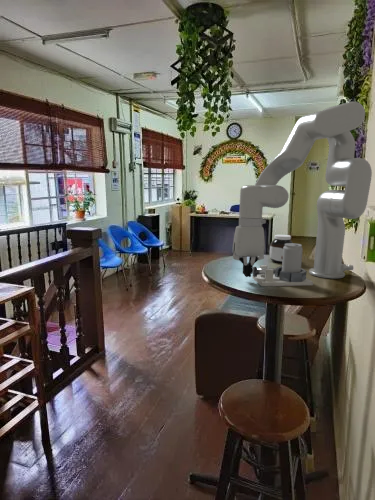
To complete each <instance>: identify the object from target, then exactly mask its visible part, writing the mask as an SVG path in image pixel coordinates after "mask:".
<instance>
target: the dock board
mask: <svg viewBox="0 0 375 500" xmlns="http://www.w3.org/2000/svg"><path fill="white" fill-rule="evenodd" d="M265 268H269V267H268V265H266V264H265V265H263V264H262V265H259V269H265ZM251 277H252V279H253V280H254V281H255V282H256V283H257V284H259V285H260V286H261V287H281V286H282V287H287V286H292V287H293V286H314V281H312V280H311V279H309V278H308V277H306V280H304V281H302V282H287V281H282V280H279V278H280V276H278V277H275V275H273V270H272V269H265V275H257V277H253V275H251Z"/></svg>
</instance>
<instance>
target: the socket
mask: <svg viewBox="0 0 375 500" xmlns="http://www.w3.org/2000/svg"><path fill="white" fill-rule="evenodd" d="M275 268H276V275H275V277H278V276H280V278H279V280H282V281H287V282H302V281H304V280H306V278H307V271H308V270H306V269H304V268H302V267H301V272H300V273H290V272H284V271H282V265H280V266H277V267H275Z"/></svg>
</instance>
